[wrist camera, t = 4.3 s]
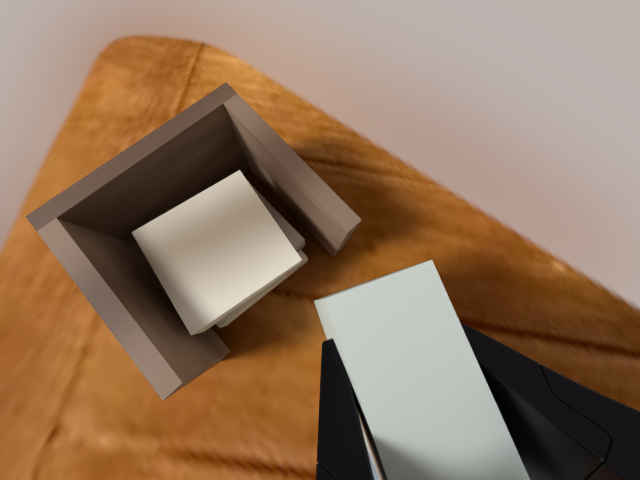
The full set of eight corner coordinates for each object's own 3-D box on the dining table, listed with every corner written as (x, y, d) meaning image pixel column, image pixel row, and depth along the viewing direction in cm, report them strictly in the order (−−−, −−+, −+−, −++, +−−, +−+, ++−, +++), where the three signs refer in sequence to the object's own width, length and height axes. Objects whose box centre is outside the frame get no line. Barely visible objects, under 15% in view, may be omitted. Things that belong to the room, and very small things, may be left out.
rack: (342, 248, 17) (361, 219, 11) (219, 361, 15) (162, 400, 9) (252, 154, 18) (226, 82, 12) (128, 247, 16) (25, 216, 10)
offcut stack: (314, 262, 16) (317, 247, 12) (227, 331, 15) (196, 343, 11) (256, 190, 17) (240, 153, 13) (169, 250, 16) (119, 231, 12)
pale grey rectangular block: (398, 384, 15) (547, 518, 6) (349, 405, 15) (424, 584, 5) (359, 284, 16) (431, 259, 7) (313, 300, 16) (324, 298, 7)
